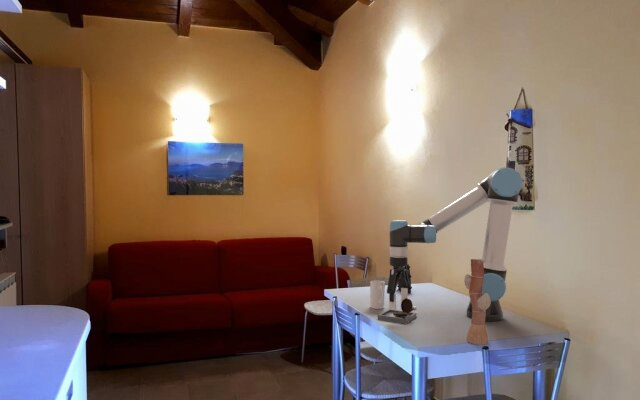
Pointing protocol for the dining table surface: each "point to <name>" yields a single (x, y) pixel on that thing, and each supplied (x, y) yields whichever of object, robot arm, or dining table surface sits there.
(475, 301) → the brown tall piece
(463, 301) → the dining table surface
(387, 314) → the grey square tray
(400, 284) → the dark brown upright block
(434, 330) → the dining table surface
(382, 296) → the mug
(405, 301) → the compass
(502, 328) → the dining table surface
